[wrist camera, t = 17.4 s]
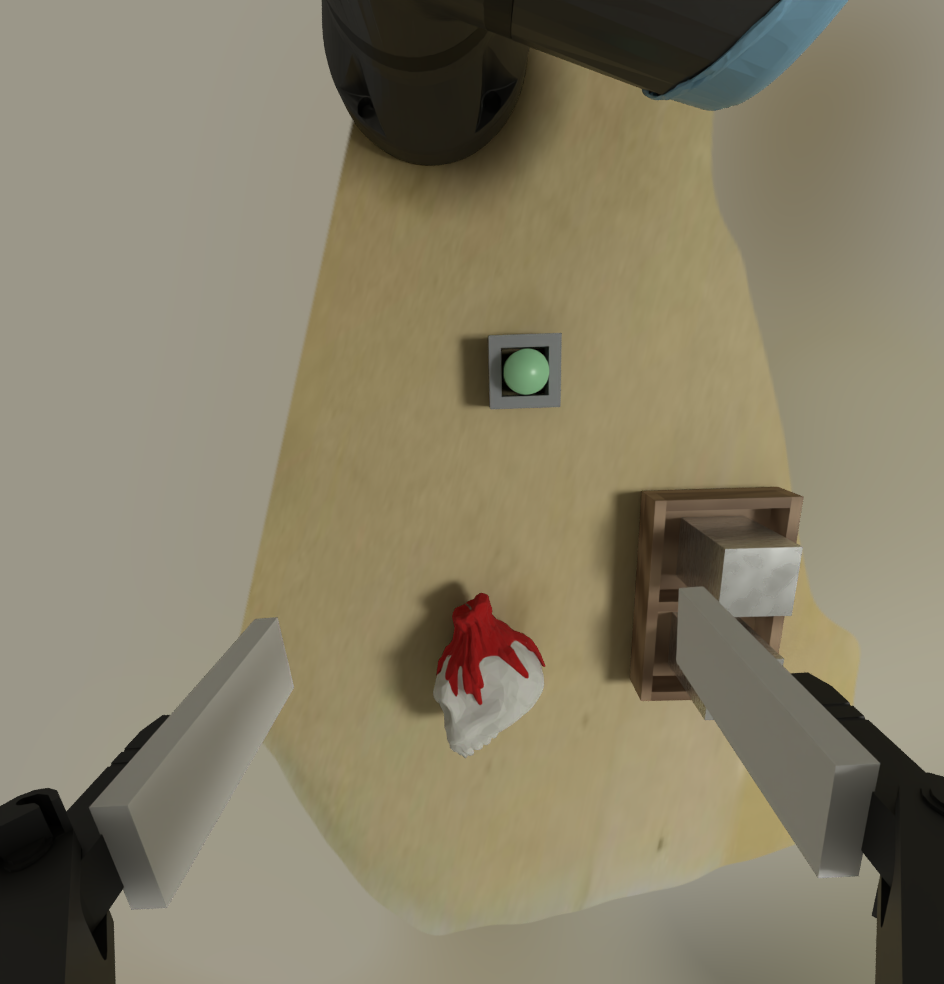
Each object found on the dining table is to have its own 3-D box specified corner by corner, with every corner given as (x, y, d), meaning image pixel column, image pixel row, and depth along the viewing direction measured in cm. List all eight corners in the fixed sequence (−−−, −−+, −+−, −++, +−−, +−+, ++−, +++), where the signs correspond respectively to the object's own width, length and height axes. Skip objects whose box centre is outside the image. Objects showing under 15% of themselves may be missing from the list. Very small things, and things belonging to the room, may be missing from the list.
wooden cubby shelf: (641, 491, 44) (655, 501, 40) (778, 486, 43) (803, 496, 40) (629, 678, 49) (640, 700, 46) (751, 675, 49) (771, 698, 45)
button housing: (487, 338, 40) (488, 335, 37) (555, 335, 40) (561, 333, 37) (489, 406, 42) (490, 409, 39) (554, 404, 42) (560, 406, 39)
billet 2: (672, 611, 46) (711, 660, 38) (732, 610, 46) (784, 658, 38) (667, 663, 47) (704, 720, 40) (725, 661, 47) (774, 718, 39)
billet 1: (681, 517, 43) (725, 549, 36) (744, 515, 43) (802, 546, 35) (676, 575, 45) (717, 617, 37) (737, 573, 45) (791, 615, 37)
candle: (457, 720, 50) (416, 595, 48) (556, 696, 49) (519, 567, 47) (448, 783, 41) (398, 633, 39) (569, 756, 40) (524, 600, 38)
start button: (502, 351, 40) (504, 349, 36) (543, 349, 40) (549, 347, 36) (502, 393, 40) (505, 395, 37) (543, 391, 40) (549, 393, 37)
